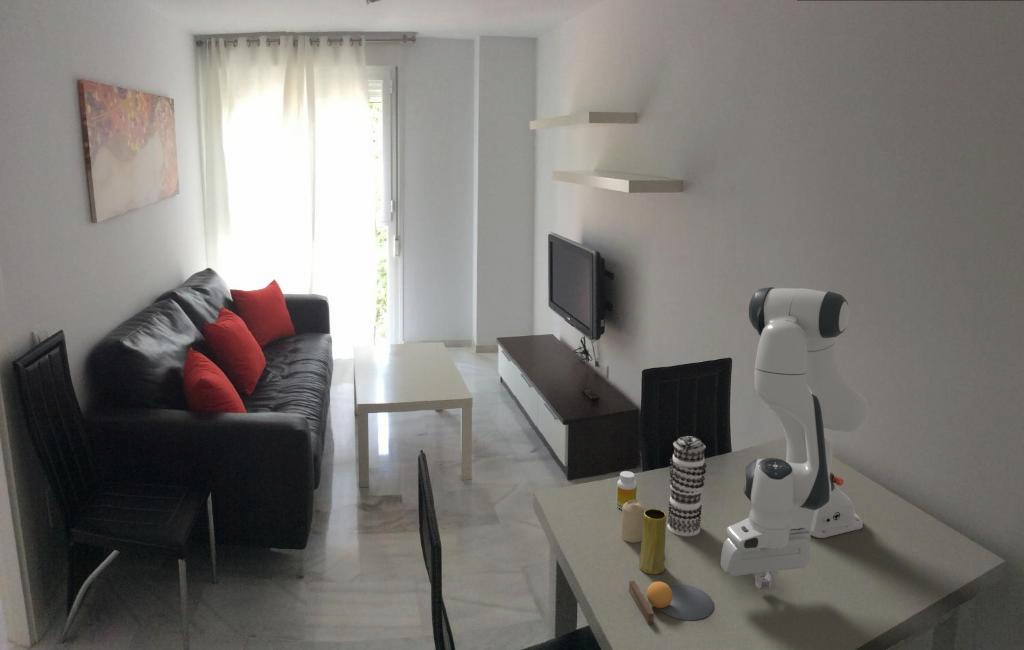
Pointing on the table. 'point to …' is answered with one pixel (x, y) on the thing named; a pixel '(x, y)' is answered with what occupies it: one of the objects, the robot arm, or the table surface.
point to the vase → (653, 542)
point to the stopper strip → (641, 602)
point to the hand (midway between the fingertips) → (762, 586)
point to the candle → (632, 521)
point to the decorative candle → (686, 486)
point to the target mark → (688, 603)
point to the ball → (659, 594)
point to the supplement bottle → (626, 488)
